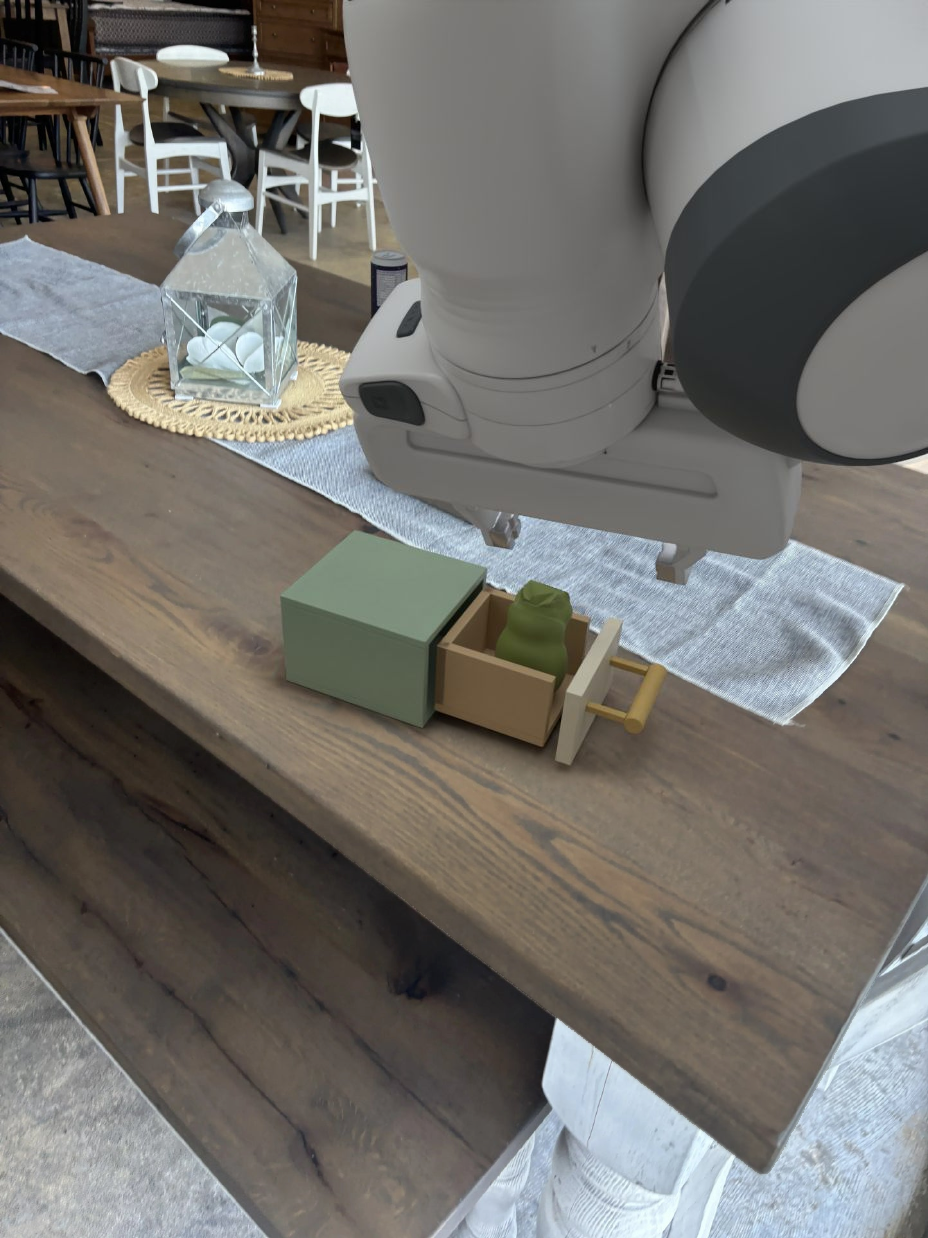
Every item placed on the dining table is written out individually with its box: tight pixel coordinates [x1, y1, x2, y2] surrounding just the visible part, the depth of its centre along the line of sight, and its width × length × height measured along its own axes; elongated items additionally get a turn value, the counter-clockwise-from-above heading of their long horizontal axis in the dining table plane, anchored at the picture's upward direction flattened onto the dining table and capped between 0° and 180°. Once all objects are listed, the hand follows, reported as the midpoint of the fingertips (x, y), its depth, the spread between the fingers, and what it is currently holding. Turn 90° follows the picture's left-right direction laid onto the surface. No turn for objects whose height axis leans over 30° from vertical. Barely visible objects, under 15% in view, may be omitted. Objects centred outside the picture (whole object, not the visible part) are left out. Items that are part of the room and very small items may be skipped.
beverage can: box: [370, 249, 409, 321], centre depth 141 cm, size 6×6×12 cm
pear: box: [495, 579, 574, 694], centre depth 68 cm, size 6×5×10 cm
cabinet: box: [279, 529, 488, 729], centre depth 74 cm, size 12×11×8 cm
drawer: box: [435, 586, 668, 766], centre depth 69 cm, size 16×10×7 cm, turn 66°
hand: (587, 554), depth 48 cm, fingers open, 8 cm apart
